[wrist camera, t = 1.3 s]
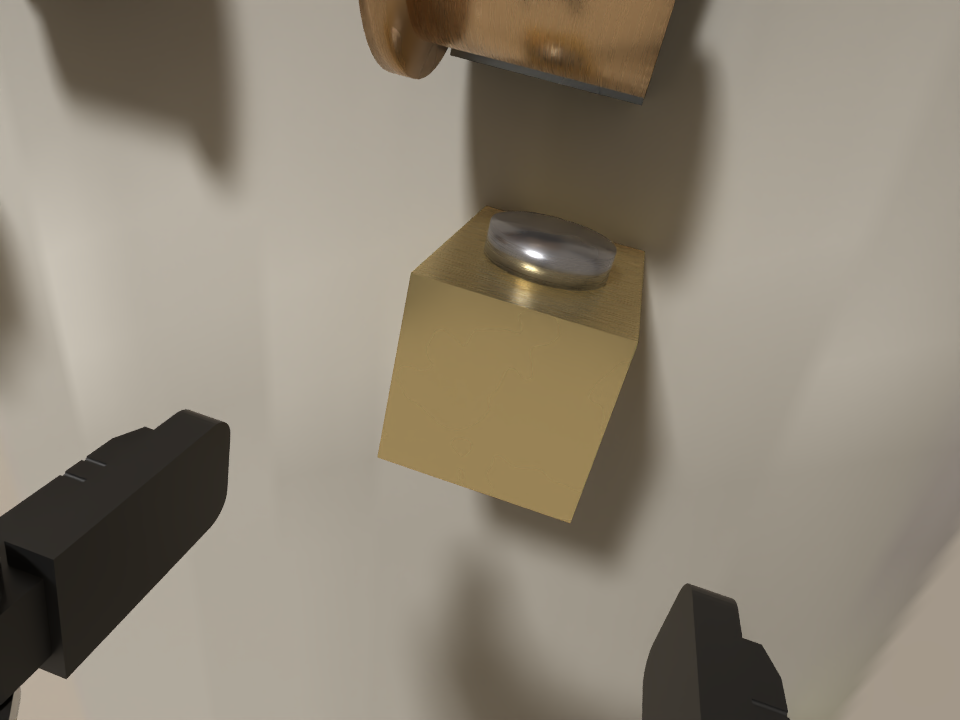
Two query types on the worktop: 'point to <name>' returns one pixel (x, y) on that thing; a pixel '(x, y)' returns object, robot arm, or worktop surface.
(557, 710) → the worktop surface
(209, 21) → the worktop surface
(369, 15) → the pipe stubs
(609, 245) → the block
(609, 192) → the worktop surface
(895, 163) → the worktop surface
